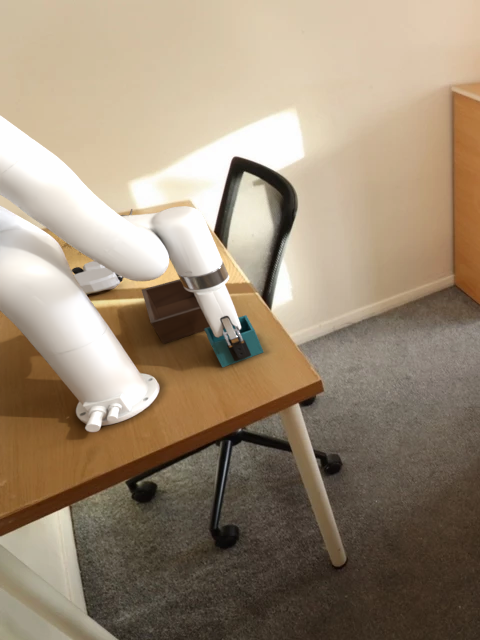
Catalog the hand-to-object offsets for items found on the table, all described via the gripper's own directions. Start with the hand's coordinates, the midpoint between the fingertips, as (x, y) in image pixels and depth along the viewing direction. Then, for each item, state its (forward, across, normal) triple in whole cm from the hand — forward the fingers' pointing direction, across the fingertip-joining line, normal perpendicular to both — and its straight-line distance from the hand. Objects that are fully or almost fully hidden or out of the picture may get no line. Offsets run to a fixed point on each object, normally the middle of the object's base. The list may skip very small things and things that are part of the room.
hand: (238, 347), depth 98 cm
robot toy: (+1, -48, -21) cm, 52 cm away
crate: (+1, -20, -5) cm, 21 cm away
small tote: (+1, 0, 0) cm, 1 cm away
